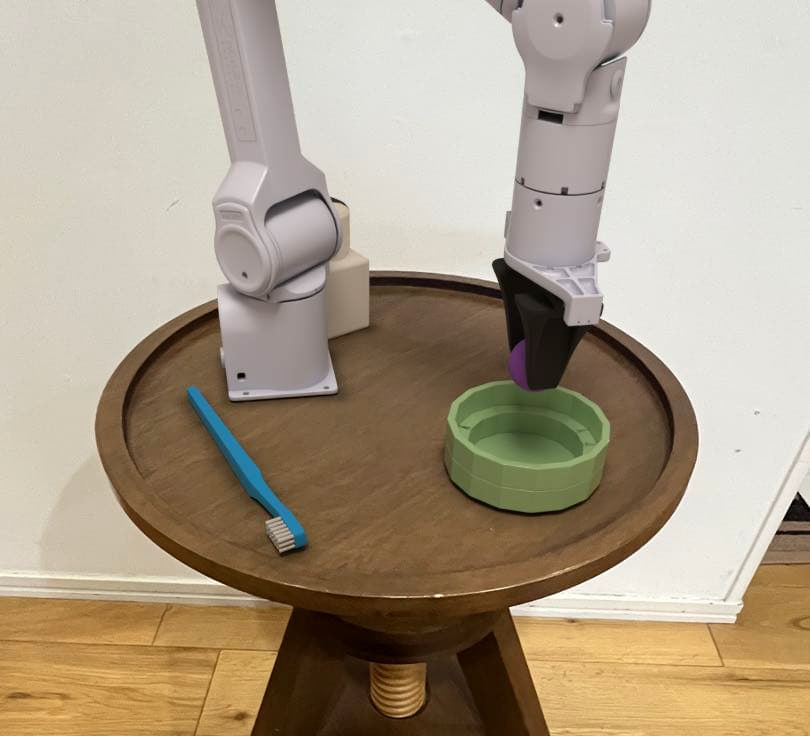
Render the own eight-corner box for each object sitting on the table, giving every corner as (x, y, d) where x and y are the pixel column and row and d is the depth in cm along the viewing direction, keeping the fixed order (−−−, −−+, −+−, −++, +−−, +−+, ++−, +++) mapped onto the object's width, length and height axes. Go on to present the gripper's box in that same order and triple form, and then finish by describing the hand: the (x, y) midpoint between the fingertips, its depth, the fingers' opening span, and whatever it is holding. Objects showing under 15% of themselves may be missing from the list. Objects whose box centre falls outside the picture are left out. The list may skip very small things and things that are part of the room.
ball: (514, 404, 61) (520, 354, 59) (499, 376, 64) (504, 328, 62) (566, 400, 62) (575, 350, 59) (549, 372, 65) (557, 324, 62)
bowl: (465, 524, 62) (470, 475, 59) (430, 432, 71) (433, 385, 68) (623, 509, 64) (635, 460, 61) (569, 421, 73) (578, 374, 70)
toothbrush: (201, 399, 74) (179, 406, 74) (197, 380, 73) (175, 386, 72) (307, 548, 59) (281, 558, 58) (305, 527, 58) (278, 537, 57)
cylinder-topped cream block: (272, 318, 86) (262, 197, 78) (331, 301, 89) (328, 183, 81) (309, 346, 82) (303, 222, 74) (370, 327, 85) (370, 206, 77)
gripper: (667, 219, 49) (621, 421, 57) (581, 144, 59) (554, 323, 68) (549, 225, 48) (521, 429, 56) (483, 147, 58) (469, 329, 67)
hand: (533, 372), depth 62 cm, fingers closed on ball, 4 cm apart
